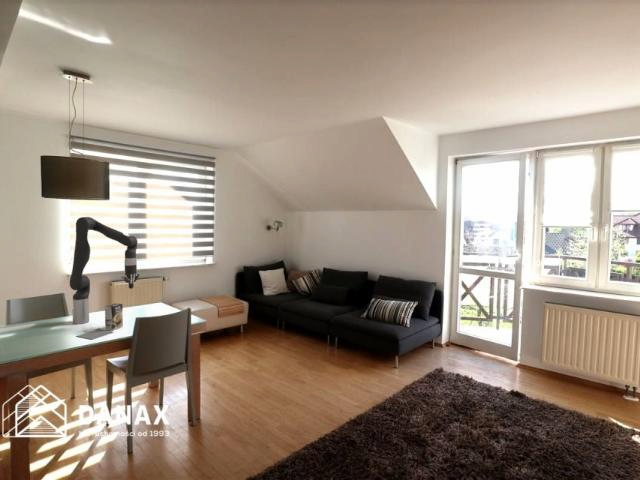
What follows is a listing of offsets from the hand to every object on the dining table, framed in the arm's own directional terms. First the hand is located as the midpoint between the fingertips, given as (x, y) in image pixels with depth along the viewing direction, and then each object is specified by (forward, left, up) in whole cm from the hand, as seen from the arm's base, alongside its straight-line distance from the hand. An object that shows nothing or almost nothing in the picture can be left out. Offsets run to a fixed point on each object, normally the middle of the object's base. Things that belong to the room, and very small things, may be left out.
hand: (131, 288), depth 251 cm
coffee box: (0, -14, -25) cm, 29 cm away
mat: (0, -28, -25) cm, 37 cm away
